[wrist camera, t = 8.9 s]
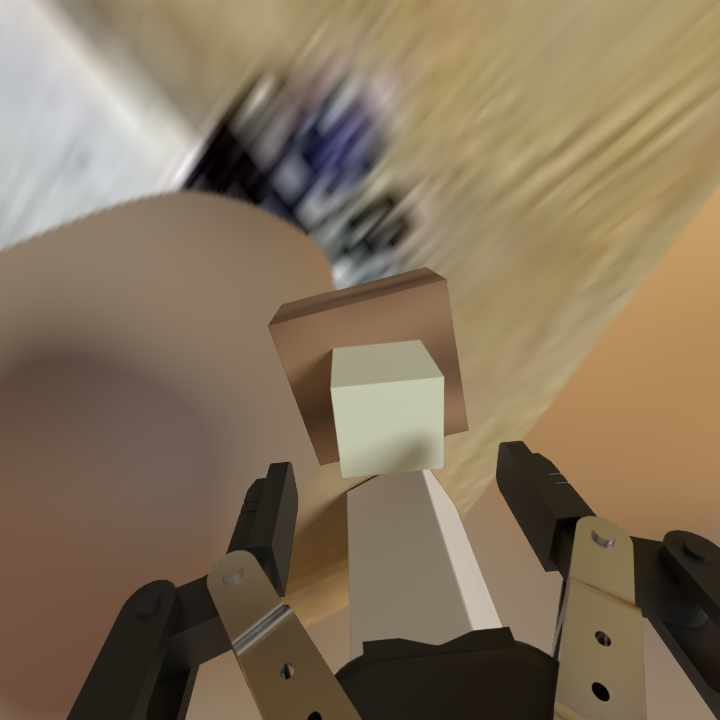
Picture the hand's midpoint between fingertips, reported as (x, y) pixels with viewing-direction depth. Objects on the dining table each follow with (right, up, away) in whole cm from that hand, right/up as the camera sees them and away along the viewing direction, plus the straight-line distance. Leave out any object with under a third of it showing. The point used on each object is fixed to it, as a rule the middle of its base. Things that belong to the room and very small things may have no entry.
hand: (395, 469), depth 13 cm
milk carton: (+2, -8, +17) cm, 19 cm away
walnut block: (-1, +5, +12) cm, 13 cm away
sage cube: (0, +3, +7) cm, 8 cm away
